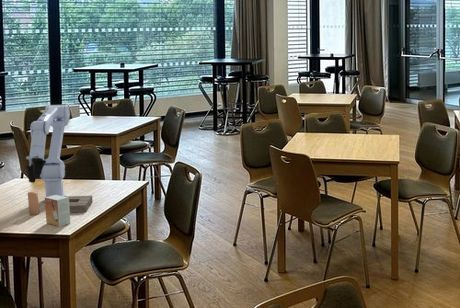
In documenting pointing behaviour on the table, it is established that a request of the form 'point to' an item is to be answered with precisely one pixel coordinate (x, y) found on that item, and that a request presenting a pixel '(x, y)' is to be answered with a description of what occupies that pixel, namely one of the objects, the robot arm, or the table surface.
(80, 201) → the socket block
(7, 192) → the table surface
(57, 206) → the small box
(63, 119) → the robot arm
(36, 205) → the peg
